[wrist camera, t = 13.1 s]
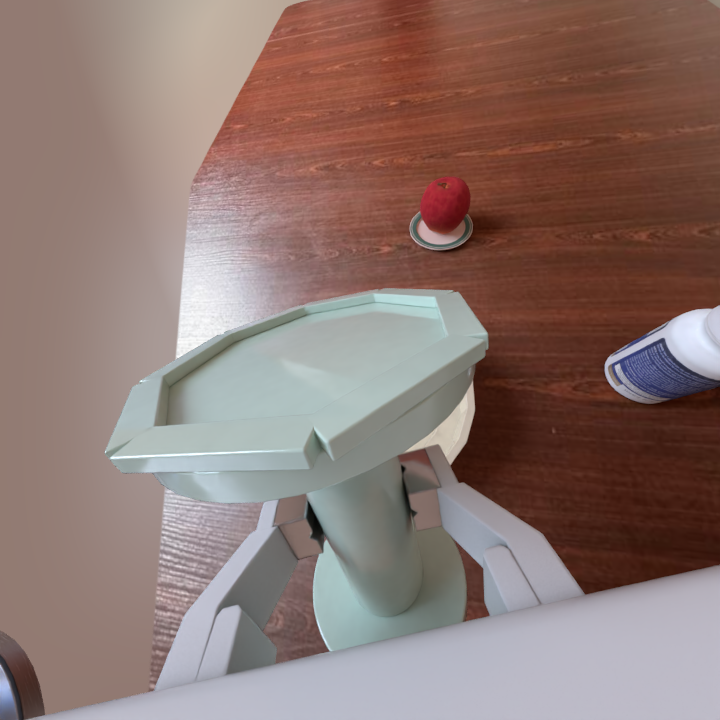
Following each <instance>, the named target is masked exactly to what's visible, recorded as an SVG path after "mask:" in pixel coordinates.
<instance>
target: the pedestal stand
mask: <svg viewBox="0 0 720 720" xmlns="http://www.w3.org/2000/svg"><path fill="white" fill-rule="evenodd" d="M488 347H489V342H488V333H487V331H486V330H485V328H484V327H483V325H482V324H481V323H480V321H479V320H478V318H477V317H476V315H475V314H474V313H473V311H472V310H471V308H470V307H469V305H468V304H467V303H466V301H465V300H464V298H463V297H462V296H461V294H460V293H459V292H454V291H453V290H425V289H392V288H384V289H382V290H379V289H376V290H371V291H366V292H360V293H355V294H350V295H345V296H340V297H335V298H330V299H325V300H320V301H315V302H310V303H306V304H305V305H304V306H303V305H299V306H296V307H293V308H290V309H287V310H285V311H282V312H279V313H276V314H274V315H271V316H268V317H265V318H262V319H260V320H257V321H254V322H251V323H248V324H246V325H243V326H240V327H237V328H234V329H232V330H229V331H226V332H224V334H222V335H217V336H215V337H214V338H212V339H210V340H209V341H207V342H205V343H203V344H202V345H200V346H198V347H197V348H195V349H193V350H191V351H190V352H188V353H186V354H185V355H183V356H181V357H180V358H178V359H176V360H174V361H173V362H171V363H169V364H168V365H166V366H164V367H163V368H161V369H159V370H157V371H156V372H154V373H152V374H151V375H149V376H147V377H145V378H144V379H142V380H140V381H139V383H140V384H138V385H135V386H133V387H132V389H131V391H130V394H129V396H128V398H127V401H126V403H125V405H124V408H123V410H122V412H121V415H120V417H119V420H118V422H117V424H116V427H115V429H114V431H113V434H112V436H111V438H110V441H109V443H108V445H107V448H106V450H105V455H106V456H107V457H108V458H109V459H110V461H111V462H112V463H113V464H114V465H115V466H116V467H117V468H118V469H119V470H120V471H121V472H122V473H152V474H153V475H154V476H155V477H156V478H157V480H158V481H159V482H160V483H161V484H162V485H163V486H165V487H166V488H168V489H170V490H171V491H173V492H175V493H176V494H178V495H182V496H185V497H188V498H192V499H195V500H199V501H203V502H213V503H223V504H240V503H259V502H267V501H272V500H278V499H283V498H289V497H295V496H299V495H303V494H305V495H306V497H307V499H308V501H309V503H310V505H311V507H312V509H313V512H314V514H315V516H316V518H317V520H318V522H319V524H320V526H321V528H322V530H323V533H324V535H325V537H326V541H325V543H324V552H323V553H322V554H320V555H319V558H318V561H317V565H316V569H315V574H314V582H313V604H314V612H315V617H316V622H317V625H318V628H319V631H320V634H321V636H322V638H323V640H324V642H325V644H326V646H327V648H328V650H329V651H330V652H331V651H335V650H340V649H344V648H349V647H353V646H358V645H362V644H367V643H371V642H376V641H380V640H385V639H389V638H393V637H398V636H402V635H407V634H411V633H416V632H420V631H425V630H429V629H434V628H438V627H443V626H447V625H452V624H456V623H461V622H465V621H466V617H467V608H468V595H467V585H466V575H465V570H464V566H463V562H462V559H461V556H460V553H459V550H458V548H457V546H456V544H455V542H454V540H453V538H452V537H451V536H450V535H449V534H448V533H447V532H446V531H445V530H444V529H443V527H437V528H432V529H427V530H422V531H417V532H416V529H415V525H414V521H413V518H412V514H411V511H410V506H409V502H408V496H407V493H406V489H405V484H404V480H403V471H402V467H401V462H400V458H399V455H400V454H402V453H403V452H405V451H406V450H408V449H409V448H410V447H412V446H413V445H415V444H416V443H418V442H419V441H420V440H422V439H423V438H425V437H426V436H428V435H429V434H430V433H431V432H432V431H433V430H434V429H436V428H437V427H438V426H439V425H440V424H441V423H442V422H443V421H444V420H445V419H447V418H448V417H449V416H450V414H451V413H452V412H453V411H454V409H455V408H456V407H457V406H458V405H459V403H460V402H461V401H462V400H463V398H464V396H465V394H466V392H467V391H468V389H469V387H470V385H471V383H472V381H473V377H474V373H475V370H476V363H477V362H478V361H480V360H481V359H483V358H484V357H485V355H486V354H485V350H487V349H488Z"/></svg>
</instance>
